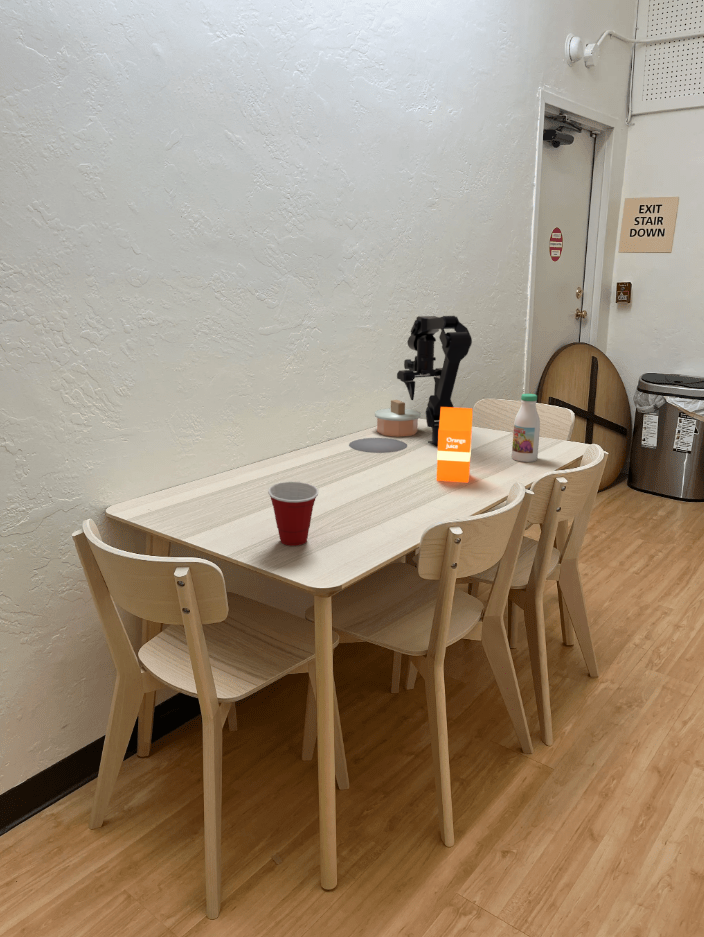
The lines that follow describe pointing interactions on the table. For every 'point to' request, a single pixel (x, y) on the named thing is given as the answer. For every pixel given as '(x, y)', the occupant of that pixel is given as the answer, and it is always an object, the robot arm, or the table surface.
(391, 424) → the bowl
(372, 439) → the mat
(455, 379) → the robot arm
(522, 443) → the milk bottle
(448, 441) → the orange juice
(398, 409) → the lid
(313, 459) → the table surface
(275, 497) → the plastic cup
